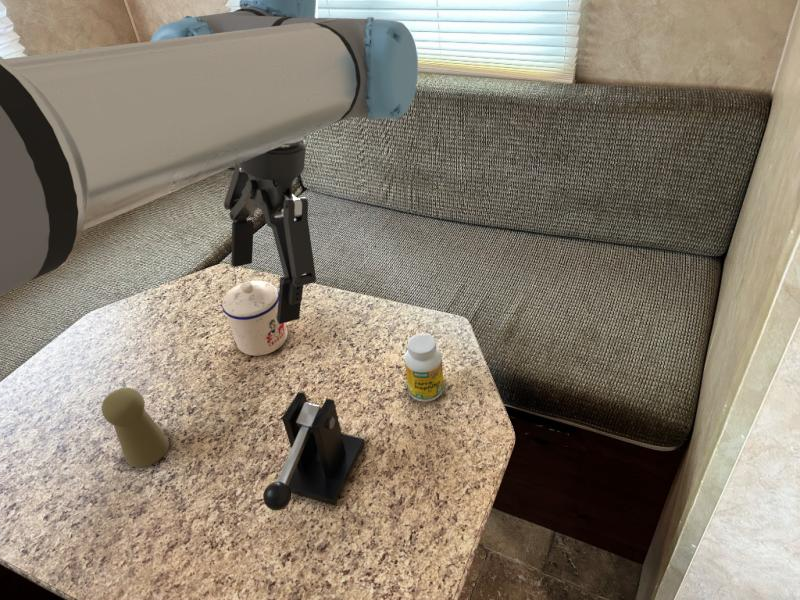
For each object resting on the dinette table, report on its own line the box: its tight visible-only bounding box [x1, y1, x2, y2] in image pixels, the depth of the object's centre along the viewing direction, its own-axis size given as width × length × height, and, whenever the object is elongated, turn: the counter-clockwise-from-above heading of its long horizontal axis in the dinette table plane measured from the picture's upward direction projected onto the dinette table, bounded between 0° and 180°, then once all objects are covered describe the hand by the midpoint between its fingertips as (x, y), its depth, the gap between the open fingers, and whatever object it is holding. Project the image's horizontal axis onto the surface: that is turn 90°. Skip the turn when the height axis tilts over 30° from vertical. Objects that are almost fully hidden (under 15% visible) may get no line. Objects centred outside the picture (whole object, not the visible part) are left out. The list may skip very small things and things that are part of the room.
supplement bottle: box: [404, 333, 445, 403], centre depth 88 cm, size 5×5×10 cm
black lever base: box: [281, 391, 366, 506], centre depth 78 cm, size 10×8×12 cm
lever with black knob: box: [262, 402, 322, 512], centre depth 73 cm, size 13×3×3 cm, turn 160°
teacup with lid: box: [221, 280, 288, 357], centre depth 100 cm, size 12×9×12 cm
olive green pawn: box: [101, 387, 170, 468], centre depth 83 cm, size 6×6×11 cm
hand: (263, 290), depth 80 cm, fingers open, 13 cm apart
